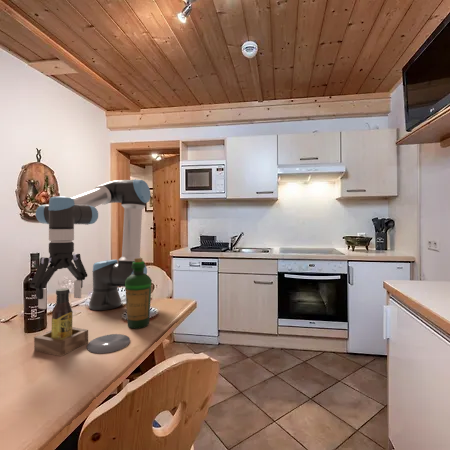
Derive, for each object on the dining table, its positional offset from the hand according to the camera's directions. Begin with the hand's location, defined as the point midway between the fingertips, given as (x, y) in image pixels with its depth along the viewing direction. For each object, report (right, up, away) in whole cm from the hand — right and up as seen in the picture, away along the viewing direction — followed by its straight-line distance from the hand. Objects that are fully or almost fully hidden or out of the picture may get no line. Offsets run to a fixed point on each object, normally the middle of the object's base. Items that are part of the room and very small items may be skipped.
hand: (61, 302), depth 95 cm
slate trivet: (+16, -15, +3) cm, 22 cm away
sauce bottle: (0, -16, +1) cm, 16 cm away
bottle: (+21, -15, +20) cm, 32 cm away
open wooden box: (0, -15, +1) cm, 15 cm away
